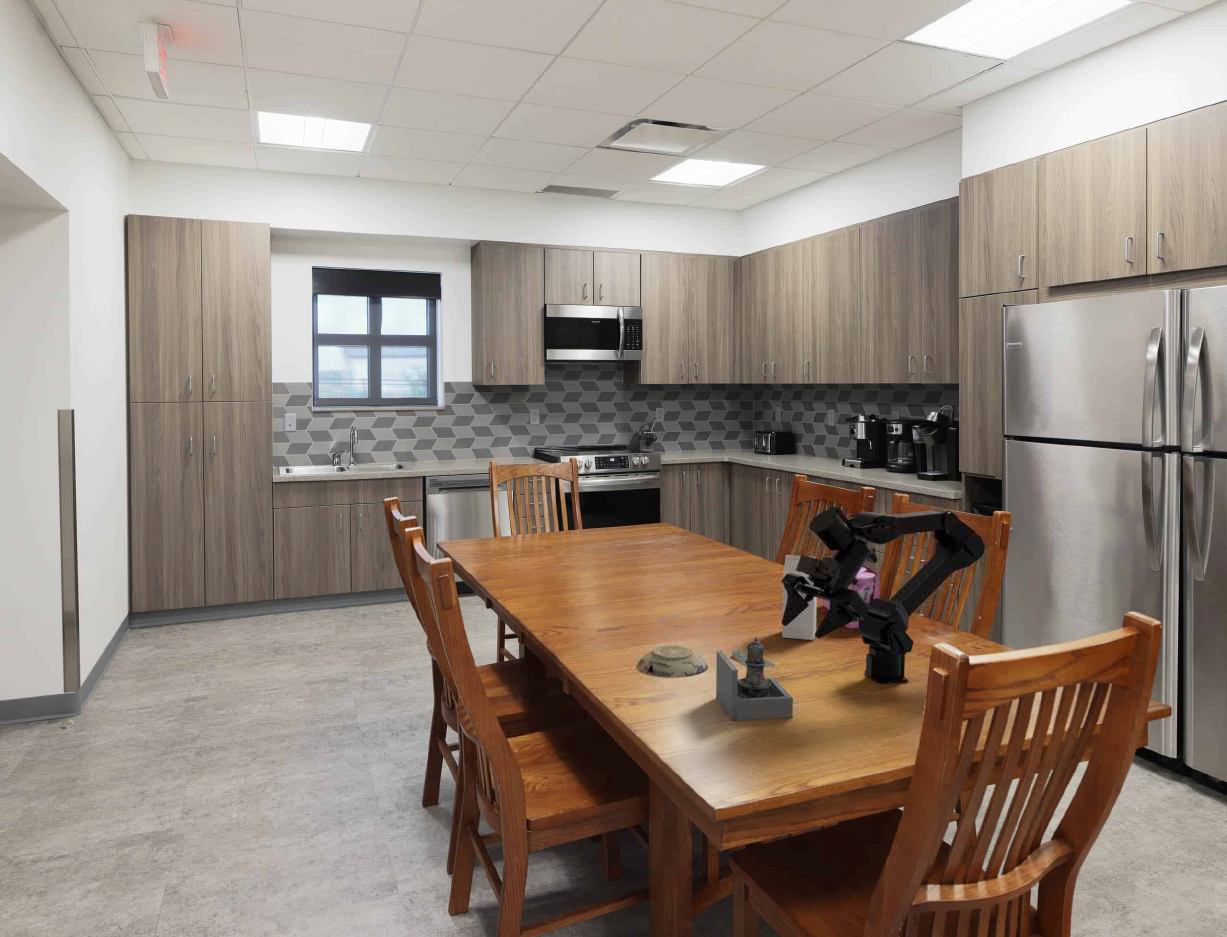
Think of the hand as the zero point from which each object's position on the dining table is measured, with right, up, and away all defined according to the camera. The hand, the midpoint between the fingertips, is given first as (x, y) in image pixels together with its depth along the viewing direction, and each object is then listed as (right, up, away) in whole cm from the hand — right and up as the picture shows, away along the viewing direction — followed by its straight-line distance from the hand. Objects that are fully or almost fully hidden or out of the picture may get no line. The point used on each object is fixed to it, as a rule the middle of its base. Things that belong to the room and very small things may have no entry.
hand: (799, 630), depth 154 cm
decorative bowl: (-22, -12, +19) cm, 32 cm away
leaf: (-4, -12, +17) cm, 21 cm away
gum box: (+26, -8, +58) cm, 64 cm away
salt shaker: (-9, -12, -4) cm, 16 cm away
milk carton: (+9, -9, +41) cm, 43 cm away
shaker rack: (-9, -13, -4) cm, 17 cm away
